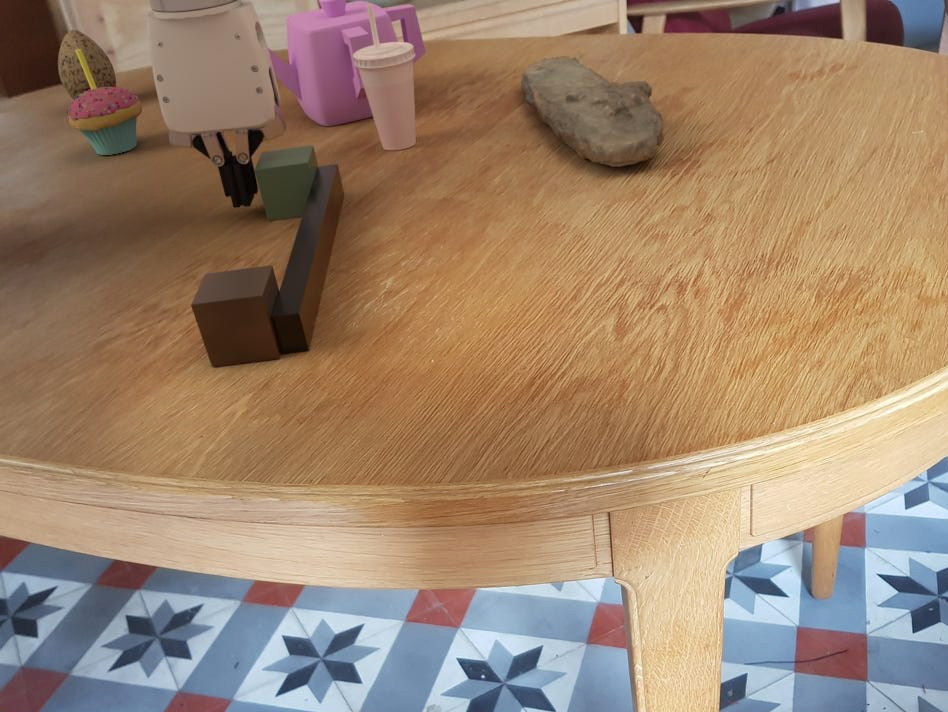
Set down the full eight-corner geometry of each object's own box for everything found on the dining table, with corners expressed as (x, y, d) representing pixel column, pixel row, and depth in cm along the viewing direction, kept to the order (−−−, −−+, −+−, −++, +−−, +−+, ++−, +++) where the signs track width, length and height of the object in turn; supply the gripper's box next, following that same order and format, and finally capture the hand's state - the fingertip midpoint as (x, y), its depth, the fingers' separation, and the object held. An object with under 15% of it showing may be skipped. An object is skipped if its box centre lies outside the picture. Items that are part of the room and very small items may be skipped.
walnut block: (211, 367, 68) (190, 304, 65) (224, 334, 72) (204, 273, 69) (280, 359, 68) (261, 295, 65) (289, 325, 72) (272, 264, 69)
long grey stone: (585, 85, 116) (507, 104, 115) (580, 39, 113) (500, 59, 112) (691, 157, 87) (588, 183, 87) (688, 98, 84) (580, 124, 84)
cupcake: (71, 154, 116) (31, 49, 108) (135, 132, 120) (100, 30, 112) (100, 166, 110) (60, 57, 103) (166, 143, 114) (131, 37, 107)
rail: (281, 354, 68) (270, 316, 66) (324, 196, 93) (317, 166, 91) (309, 350, 68) (299, 313, 66) (344, 194, 93) (337, 163, 91)
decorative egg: (83, 102, 136) (55, 27, 130) (131, 96, 135) (105, 20, 129) (65, 117, 130) (36, 40, 124) (115, 111, 130) (88, 33, 124)
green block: (267, 221, 89) (253, 169, 86) (275, 202, 93) (262, 151, 90) (319, 214, 89) (307, 162, 86) (325, 195, 93) (313, 144, 90)
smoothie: (363, 143, 105) (336, 5, 96) (418, 130, 106) (396, -7, 97) (379, 159, 100) (352, 15, 91) (436, 145, 101) (415, 2, 93)
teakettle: (382, 128, 108) (361, 10, 101) (259, 128, 114) (230, 17, 107) (443, 83, 120) (428, -25, 113) (328, 85, 126) (307, -17, 119)
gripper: (286, -26, 83) (325, 181, 94) (118, -9, 83) (176, 195, 94) (275, -10, 77) (317, 209, 88) (93, 8, 77) (158, 224, 88)
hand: (244, 201), depth 91 cm, fingers closed
